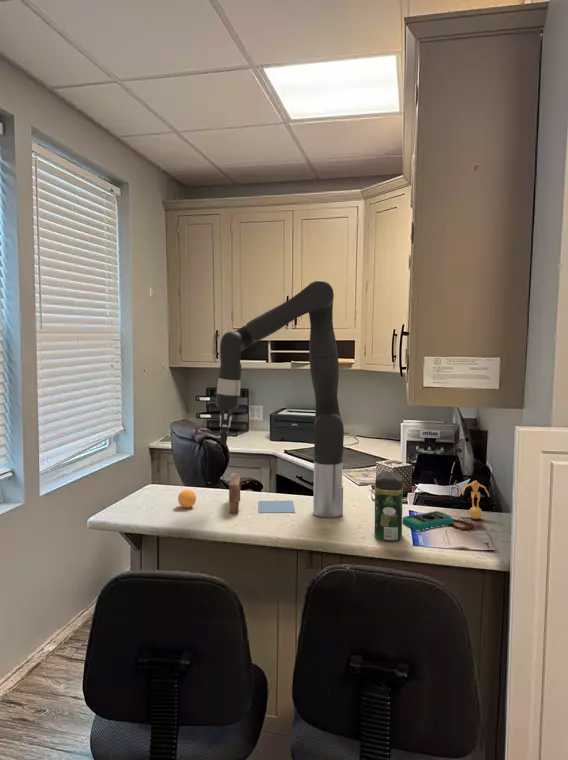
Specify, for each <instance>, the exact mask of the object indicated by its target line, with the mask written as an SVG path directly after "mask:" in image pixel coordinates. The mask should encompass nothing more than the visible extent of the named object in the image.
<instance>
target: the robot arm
mask: <svg viewBox="0 0 568 760" xmlns="http://www.w3.org/2000/svg"><path fill="white" fill-rule="evenodd" d="M333 289H334V288H333V287H332V285H331V284H330V283H329V282H327V281H325V280H322V279H316V280H313V281H311V282H310V283H309V284H308V285H307V286H306V287H304V288H303V289H302V290H301V291H300V292H298V293H297V294H296V295H294V296H292V297H291V298H290V299H288V300H286V301H285V302H283V303H281V304H279V305H277V306H275V307H273V308H272V309H269V310H268V311H266V312H264V313H262V314H259V315H258V316H256V317H254V318H253V319H251V320H250V321H248V322H247V323H246V324H245V325H243V326H242V327H240V328H238V329H236V330H233V331H228V332H225V333H224V334H223V335H222V337H221V339H220V343H219V345H220V346H219V354H220V355H219V357H220V366H219V373H218V374H219V375H218V382H217V386H216V395H215V396H216V397H215V406H216V407H218V408H222V411H220V412H219V419H220V420H219V427H220V429H219V432H220V434H219V436H220V437H219V444H220V445H223V446H224V445H227V443H228V442H227V441H228V437H229V435H228V434H229V432H230V431H229V430H230V429H229V428H230V427H231V424H232V419H233V412H231V411H232V410H233V409H234V410H235V409H239V405H240V396H241V379H242V364H241V357H242V352H243V351H244V350H246V349H248V348H249V347H251V346H252V345H255V343H257V342H259V341H261V340H263V339H265V338H267V337H269V336H271V335H273V334H274V333H276V332H278V331H279V330H280V329H282V328H284V327H285V326H287V325H289V324H290V323H292V322H293V321H294V320H296V319H298V318H300V317H302V316H304V315H306V314H308V316H309V323H310V331H309V333H310V335H309V342H308V343H309V345H308V346H309V347H308V351H309V352H308V353H309V355H308V356H309V357H308V358H309V370H310V376H311V382H312V387H313V392H314V399H315V412H314V413H315V414H314V415H315V416H314V429H313V430H314V431H313V433H314V437H313V438H314V441H313V442H314V443H313V445H314V446H313V447H314V448H313V504H312V505H313V507H312V508H313V515H315V516H316V517H320V518H329V519H333V518H338V517H343V516H344V486H343V456H344V442H345V441H344V437H345V435H344V434H345V431H344V428H345V427H344V423H343V421H342V420H343V419H342V418H341V411H340V406H339V399H338V391H339V377H340V369H339V368H340V367H339V366H340V365H339V364H340V363H339V351H338V345H337V341H336V336H335V335H336V334H335V331H334V321H333V317H334V316H333V315H334V314H333V313H334V312H333V311H334V310H333V309H334V308H333V307H334V299H335V297H334V296H335V295H334V290H333Z"/></svg>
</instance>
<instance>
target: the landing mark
mask: <svg viewBox="0 0 568 760" xmlns="http://www.w3.org/2000/svg"><path fill="white" fill-rule="evenodd" d="M258 513H259V514H275V513H276V514H280V513H282V514H283V513H284V514H289V513H290V514H293V513H294V514H295V513H296V509H295V504H294V501H293V500H258Z"/></svg>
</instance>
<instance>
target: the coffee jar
mask: <svg viewBox="0 0 568 760" xmlns="http://www.w3.org/2000/svg"><path fill="white" fill-rule="evenodd" d="M374 484H375V485H374V536H375V539H377V540H380V541H383V542H389V543H392V542H398V541H400V540H401V539H402V537H403V504H404V503H403V499H404V498H403V494H404V493H403V492H404V490H403V489H404V479H403V477H402V476H401V475H400V474H399V473H398V472H397V471H386V470H385V471H382V472H380V473H378V474H377V475H376V477H375V482H374Z"/></svg>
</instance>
